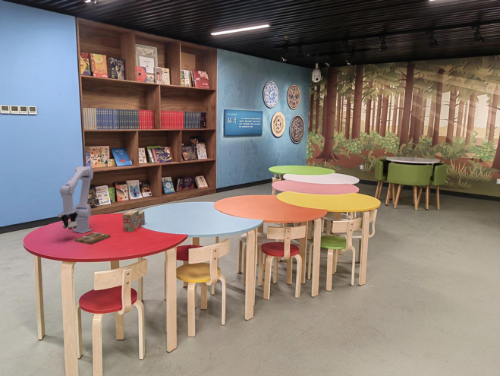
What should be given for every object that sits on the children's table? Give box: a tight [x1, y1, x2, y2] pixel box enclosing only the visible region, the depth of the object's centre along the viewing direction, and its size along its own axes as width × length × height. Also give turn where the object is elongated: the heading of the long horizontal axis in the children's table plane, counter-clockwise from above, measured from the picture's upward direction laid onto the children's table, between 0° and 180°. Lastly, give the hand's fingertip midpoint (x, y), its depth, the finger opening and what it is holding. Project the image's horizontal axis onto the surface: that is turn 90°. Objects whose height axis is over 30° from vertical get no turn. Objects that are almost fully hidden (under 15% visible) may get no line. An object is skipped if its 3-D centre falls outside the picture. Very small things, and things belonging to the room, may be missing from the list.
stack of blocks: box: [122, 209, 146, 233], centre depth 268 cm, size 21×6×12 cm, turn 171°
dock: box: [74, 232, 111, 245], centre depth 241 cm, size 14×16×2 cm
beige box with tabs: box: [61, 220, 77, 230], centre depth 240 cm, size 8×4×4 cm, turn 67°
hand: (69, 225), depth 239 cm, fingers closed on beige box with tabs, 4 cm apart
